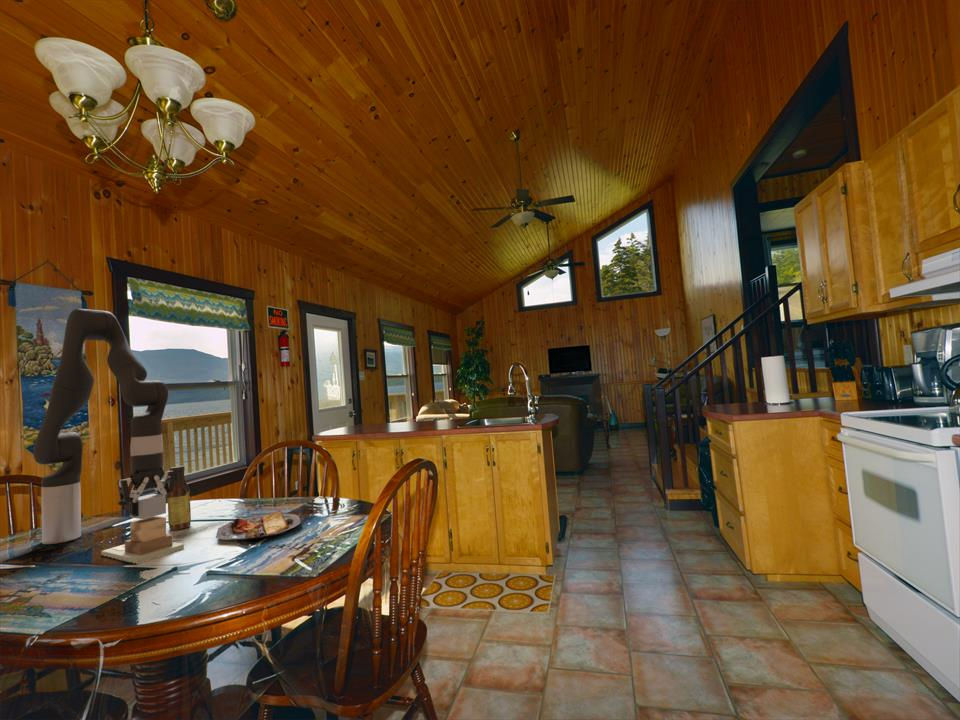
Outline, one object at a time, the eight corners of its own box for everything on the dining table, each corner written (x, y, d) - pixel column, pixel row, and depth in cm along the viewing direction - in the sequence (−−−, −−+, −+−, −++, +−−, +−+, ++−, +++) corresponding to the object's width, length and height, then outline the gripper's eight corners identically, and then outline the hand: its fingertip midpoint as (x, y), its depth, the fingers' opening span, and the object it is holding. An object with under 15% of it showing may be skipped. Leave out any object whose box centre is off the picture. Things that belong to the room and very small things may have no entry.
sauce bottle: (194, 526, 156) (193, 465, 157) (174, 531, 150) (172, 469, 151) (184, 524, 159) (183, 464, 160) (164, 529, 154) (162, 467, 155)
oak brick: (130, 540, 130) (130, 521, 130) (153, 533, 135) (153, 515, 135) (142, 542, 127) (142, 523, 127) (166, 535, 133) (165, 517, 133)
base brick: (124, 551, 129) (124, 540, 130) (156, 542, 136) (156, 531, 137) (141, 555, 126) (140, 544, 126) (172, 545, 133) (172, 534, 133)
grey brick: (130, 517, 130) (129, 498, 130) (153, 511, 136) (153, 493, 136) (143, 519, 128) (142, 500, 128) (166, 513, 133) (165, 495, 133)
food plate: (219, 526, 153) (219, 515, 154) (296, 515, 163) (296, 505, 164) (214, 552, 131) (213, 539, 131) (303, 537, 141) (303, 525, 141)
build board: (101, 555, 131) (101, 550, 131) (148, 541, 142) (148, 536, 142) (136, 563, 123) (136, 558, 123) (184, 548, 134) (183, 543, 134)
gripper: (166, 447, 140) (167, 505, 140) (110, 455, 128) (111, 518, 127) (181, 448, 137) (182, 507, 136) (125, 456, 124) (126, 521, 123)
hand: (148, 512), depth 132 cm, fingers closed on grey brick, 6 cm apart
